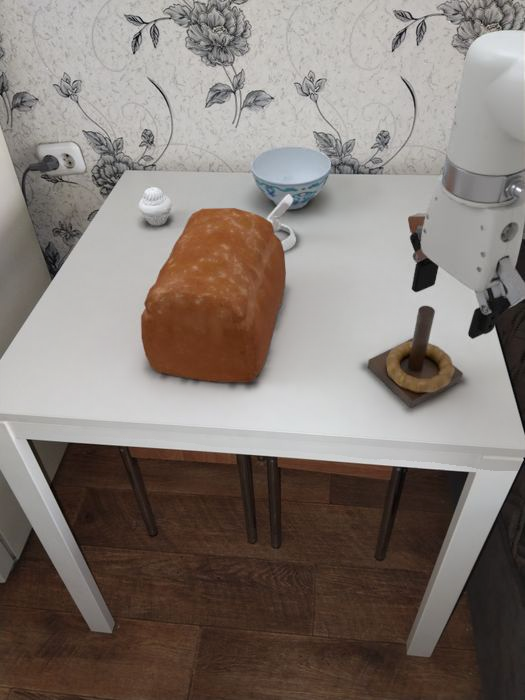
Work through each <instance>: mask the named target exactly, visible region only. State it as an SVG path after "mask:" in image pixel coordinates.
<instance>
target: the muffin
mask: <svg viewBox="0 0 525 700" xmlns="http://www.w3.org/2000/svg"><path fill="white" fill-rule="evenodd" d="M172 204H173V203H172V201H171V199H170V198H169V197H168V196H167V195H166V194H164V192H163V191H162V189H161V188H159V187H156V186H155V187H154V186H152V187H148V188H147V189H145V190H144V191H143V195H142V198H141V199H140V201H139V202H138V205H137V207H138V210H139V212H140V213H141V215H142V216H143V218H144V219H145V220H146V222H148V223H149V224H150V225H151V226H155V227H158V226H163V225H164V224H166V223H167V221H168V219H169V216H170V213H171V211H172V210H171V209H172V207H173V205H172Z"/></svg>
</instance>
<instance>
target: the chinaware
mask: <svg viewBox="0 0 525 700" xmlns="http://www.w3.org/2000/svg"><path fill="white" fill-rule="evenodd" d="M250 169H251V174H252V177H253V179H254V182H255V184H256V186H257V187H258V190H260V192H261V193H262V194H263V195H264V196H265V197H266V198H268V199H269V200H271V201H273V202H274V204H275V206H277V205H278V204H279V203H280V202H281V201H282V200H283V198H284V197H285V196H286V195H288V194H290V195H291V197H292V198H293V202H292V204H291V205H290V207H289V208H288V209H287V210H296V209H300V208H303V207H304V206H306V205H307V204H308V202H309V201H310V200H312V199H313V198H315V197H316V196H317V195H318V194H320V192H321V191H322V189H323V188H324V187H325V185H326V183H327V181H328V179H329V175H330V172H331V169H332V162H331V159H330V158H329V156H328V155H326V154H325V153H323V152H322V151H320V150H318V149H315V148H312V147H307V146H299V145H284V146H277V147H273V148H270V149H266V150H265V151H261V152H260V153H259V154H257V155H256V156H254V158H253V159H252V161H251V163H250Z"/></svg>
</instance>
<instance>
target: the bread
mask: <svg viewBox="0 0 525 700" xmlns="http://www.w3.org/2000/svg"><path fill="white" fill-rule="evenodd" d="M281 241H282V240H281V239H280V238H279V237H278V236H277V235H275V231H274V229H273V226H272V223H271V222H270V221H268V220H267V218H265V217H264V216H262V215H259V214H257V213H253V212H250V211H247V210H243V209H240V208H237V207H213V208H211V207H210V208H200V209H199V210H198V211H195V212H194V213H192V214H191V216H190V217H189V218H188V219H187V222H186V224H185V226H184V228H183V230H182V233H181V234H180V236H179V237H178V239H176V242H175V243H174V245H173V247H172V248H171V252H170V254H169V256H168V258H167V259H166V261H165V262H164V264H163V265H162V267H161V268H160V270H159V273H158V274H157V277H156V280H155V282H154V284H153V285H152V286H151V287H150V288H149V289H148V292H147V294H146V298H145V300H144V303H143V305H144V307H145V308H144V310H143V312H142V313H141V315H140V327H141V329H140V331H141V332H140V333H141V342H142V347H143V350H144V355H145V357H146V360H147V361H148V364H149V366H150V367H151V368H152V369H153V370H154V371H155V372H157V373H162V374H165V375H171V376H174V377H179V378H185V379H191V380H198V381H199V380H200V381H208V382H216V383H218V382H220V383H222V382H224V383H250V382H251V381H252V380H254V379H255V378H257V377H258V375H259V373H260V372H261V370H262V369H263V368H264V366H265V364H266V360H267V356H268V353H269V350H270V346H271V342H272V337H273V333H274V329H275V324H276V320H277V315H278V311H279V310H280V308H281V306H282V302H283V298H284V295H285V288H286V278H287V276H286V275H287V270H286V269H287V268H286V257H285V251H284V250H283V247H282V243H281Z"/></svg>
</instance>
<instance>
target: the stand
mask: <svg viewBox="0 0 525 700" xmlns="http://www.w3.org/2000/svg"><path fill="white" fill-rule="evenodd" d="M435 315H436V310H435V309H434V307H432V306H430V305H422V306H419V308H418V311H417V316H416V319H415V320H416V321H415V326H414V331H413V336H412V338H410V339H408V340H406V341H403V342H402V343H400V344H398V345H397V346H399V345H401V344H403V343H405V342H412V346H411V351H410V355H408V356H406V357H404V358H402V359H401V361H400V367H401V369H402V370H403V371H404V372H405V373H406V374H407V375H410V376H413V377H415V378H418V379H425V378H432V377H434V376H436V375H438V373H439V371H440V369H439V365H438V364H437V363H436V362H435V361H434V360H433V359H432V358H430V357H427V356H425V355H426V350H427V346H428V343H429V341H430V337H431V331H432V327H433V322H434V318H435ZM393 348H394V347H392V348H390V349H387V350H385V351H383V352H381V353H379V354H378V355H375V356H374V357H371V358H369V359H368V361H367V368H368V369H369V370H370V371H371V372H372V373H373V374H374V375H375V376H376V377H377V378H378V379H379V380H380V381H381V382H383V383H384V384H385V385H386V387H388V389H390V391H392V392H393V393H394V394H395V395H396V396H397V397H398V398H399V399H400V400H401V401H403V403H404V404H405V405H406V406H407V407H409V408H410V409H412V408H414V407H416V406H418V405H420V404H422V403H423V402H425V401H427V400H429V399H431V398H432V397H434V396H436V395H438V394H439V393H441V392H443V391H445V390H446V389H448V388H450V387H452V386H454V385H455V384H458V383H459V382H462V379H463V376H464V372H462V371H461V370H460V369H458V368H457V367H456V366H455V365H454V364H453V367H454V374H453V376H452V378H451V381H450V383H449V384H448V385H447V386H445V387H443V388H441V389H439V390H437V391H435V392H419V393H418V392H414V391H411V390H408V389H405V388H403V387H400V386H399V385H398V384H397V383H396V382H395V381H394V380H393V379H392V378H391V377H390V376H389V375H388V371H387V367H386V359H387V357H388V355H389V353H390V352H391V350H392V349H393Z"/></svg>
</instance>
